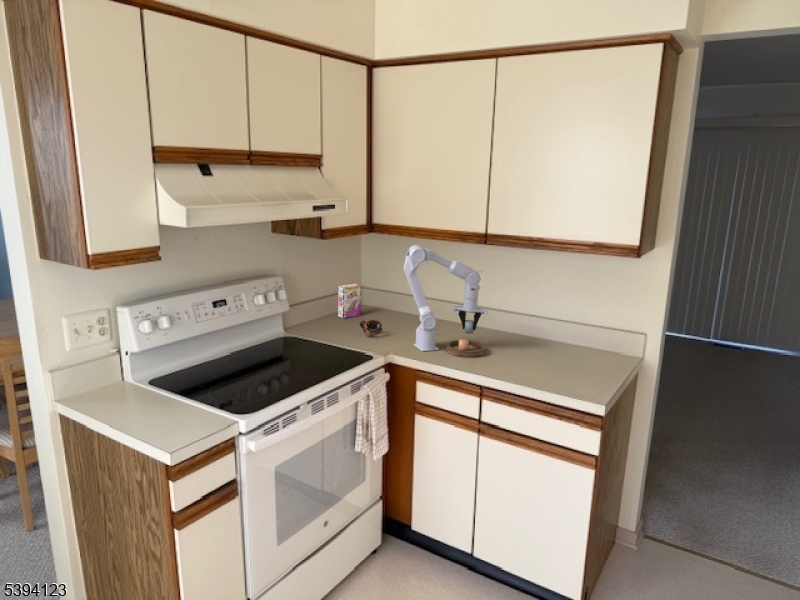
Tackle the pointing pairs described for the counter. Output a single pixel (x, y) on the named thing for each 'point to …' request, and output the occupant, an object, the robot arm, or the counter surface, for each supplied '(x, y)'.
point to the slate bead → (469, 326)
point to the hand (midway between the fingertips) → (469, 329)
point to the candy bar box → (349, 301)
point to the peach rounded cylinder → (463, 345)
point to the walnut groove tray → (473, 349)
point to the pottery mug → (371, 327)
